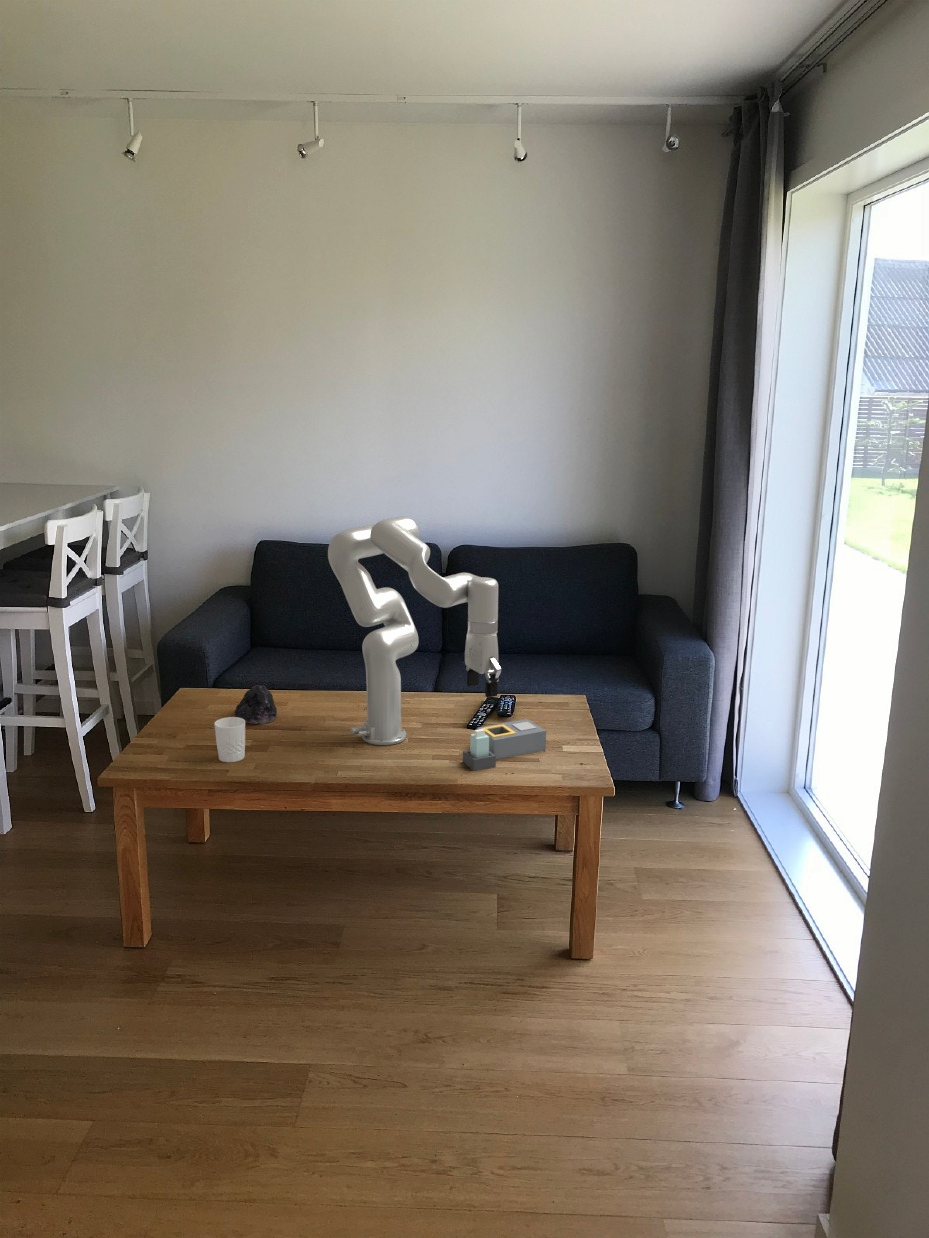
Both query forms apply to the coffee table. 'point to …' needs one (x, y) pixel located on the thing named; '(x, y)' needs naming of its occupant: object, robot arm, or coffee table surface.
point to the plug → (479, 744)
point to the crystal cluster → (257, 706)
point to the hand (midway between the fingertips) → (481, 690)
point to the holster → (479, 761)
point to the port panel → (515, 738)
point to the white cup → (230, 739)
